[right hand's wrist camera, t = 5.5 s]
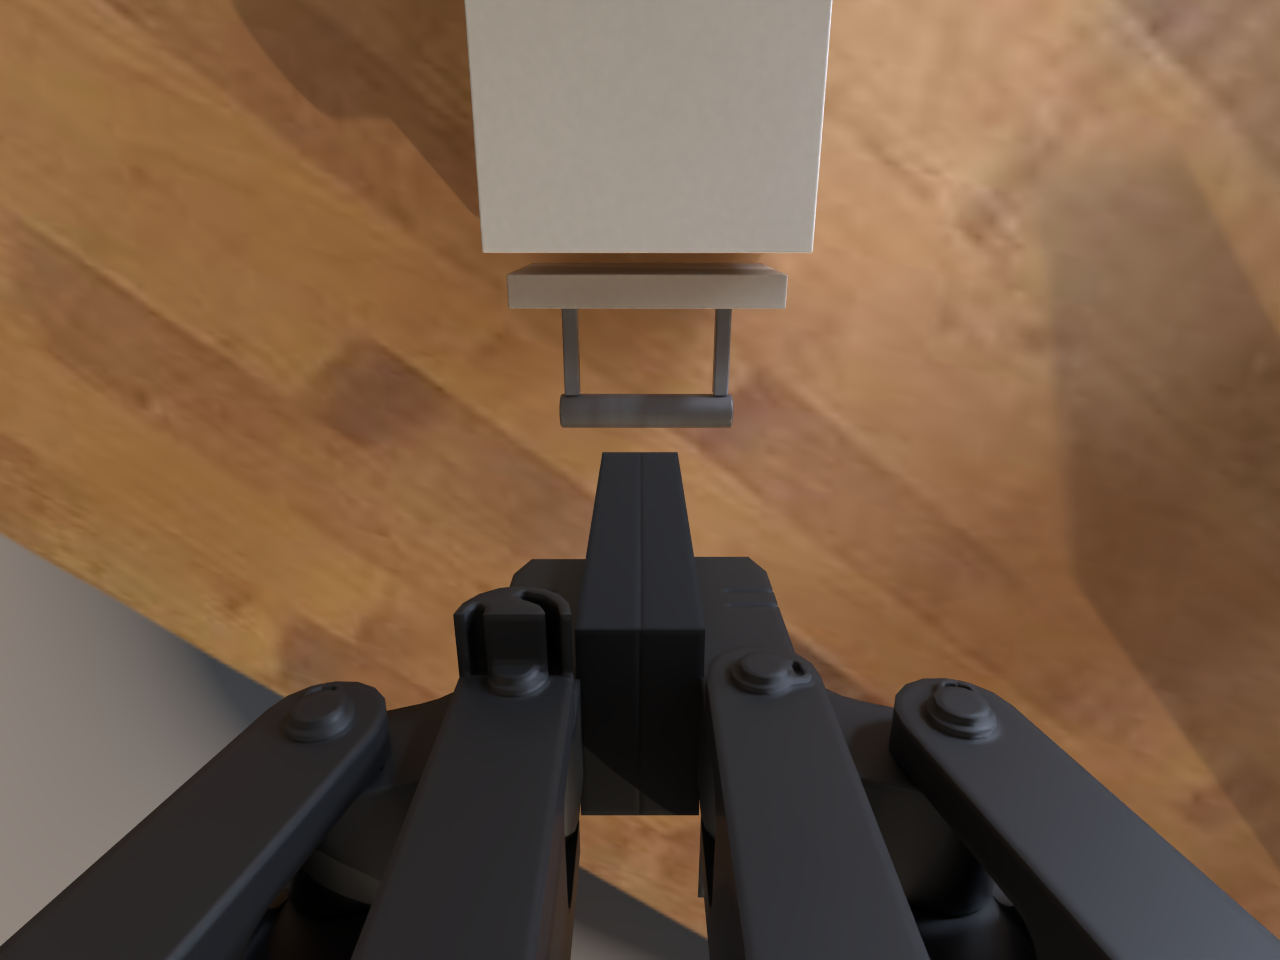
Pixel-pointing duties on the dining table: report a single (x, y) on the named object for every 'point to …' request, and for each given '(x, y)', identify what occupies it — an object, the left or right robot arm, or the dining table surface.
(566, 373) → the drawer
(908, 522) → the dining table surface
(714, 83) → the white box
